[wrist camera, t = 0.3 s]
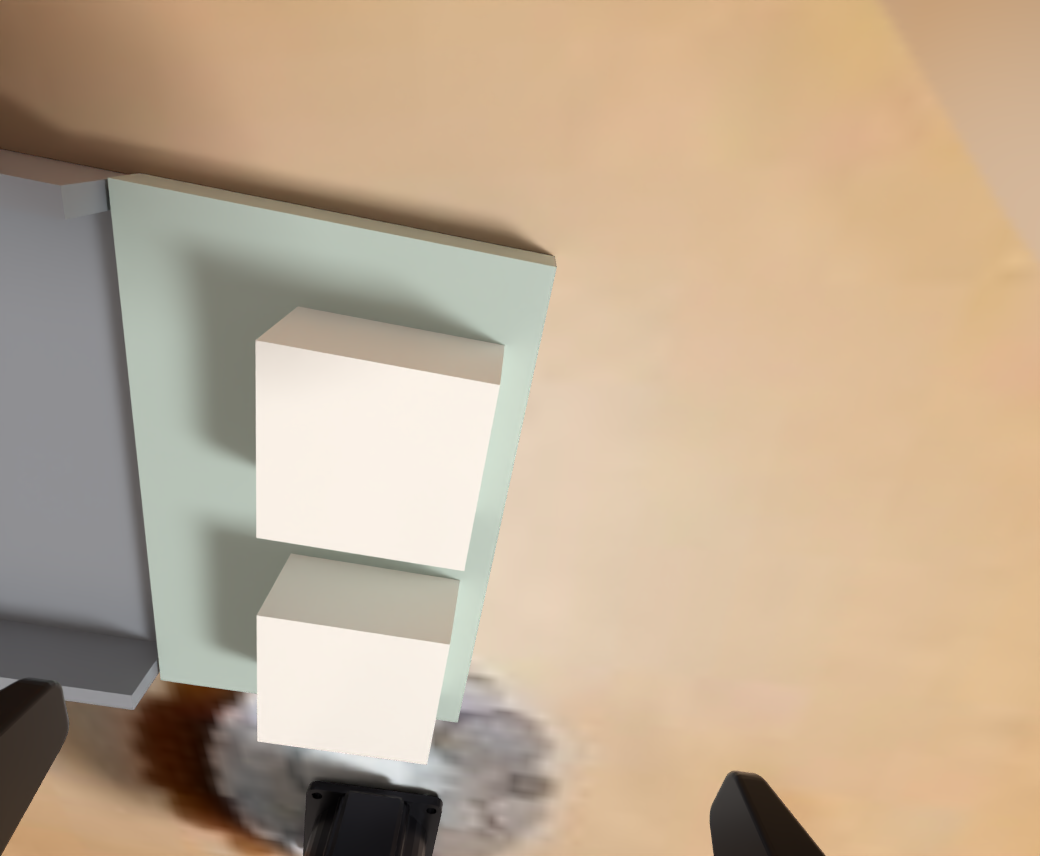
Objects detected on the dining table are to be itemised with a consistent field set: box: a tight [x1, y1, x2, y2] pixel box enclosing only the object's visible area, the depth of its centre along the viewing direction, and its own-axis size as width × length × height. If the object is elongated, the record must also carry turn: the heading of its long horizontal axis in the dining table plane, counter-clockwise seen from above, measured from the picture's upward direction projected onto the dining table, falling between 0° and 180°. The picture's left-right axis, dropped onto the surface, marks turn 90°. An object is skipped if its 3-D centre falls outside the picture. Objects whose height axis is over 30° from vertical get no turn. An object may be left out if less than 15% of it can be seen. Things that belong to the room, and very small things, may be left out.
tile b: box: [255, 306, 505, 571], centre depth 18 cm, size 6×6×3 cm
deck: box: [108, 173, 557, 722], centre depth 21 cm, size 19×12×2 cm, turn 169°
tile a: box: [257, 553, 460, 765], centre depth 22 cm, size 6×6×3 cm
